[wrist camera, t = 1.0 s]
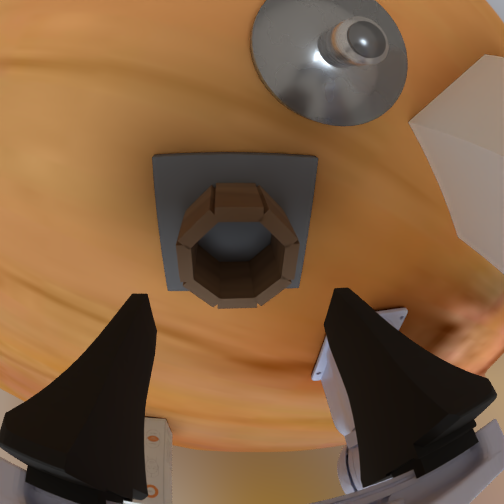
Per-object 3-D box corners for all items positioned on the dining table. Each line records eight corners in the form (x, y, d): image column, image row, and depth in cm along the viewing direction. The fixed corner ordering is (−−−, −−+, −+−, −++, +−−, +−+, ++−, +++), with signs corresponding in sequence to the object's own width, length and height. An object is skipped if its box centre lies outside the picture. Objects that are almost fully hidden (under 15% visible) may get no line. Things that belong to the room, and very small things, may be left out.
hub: (391, 134, 14) (434, 150, 11) (246, 117, 14) (255, 124, 10) (398, 9, 10) (441, -2, 6) (253, -26, 9) (265, -60, 5)
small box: (122, 428, 32) (115, 501, 21) (110, 410, 29) (98, 495, 18) (173, 434, 33) (173, 511, 22) (167, 418, 30) (164, 507, 19)
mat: (296, 282, 20) (298, 287, 19) (169, 285, 19) (168, 290, 18) (314, 155, 15) (318, 158, 14) (154, 154, 14) (152, 156, 14)
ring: (278, 269, 18) (289, 305, 15) (188, 271, 18) (183, 308, 15) (287, 183, 15) (304, 208, 12) (182, 183, 15) (172, 208, 12)
